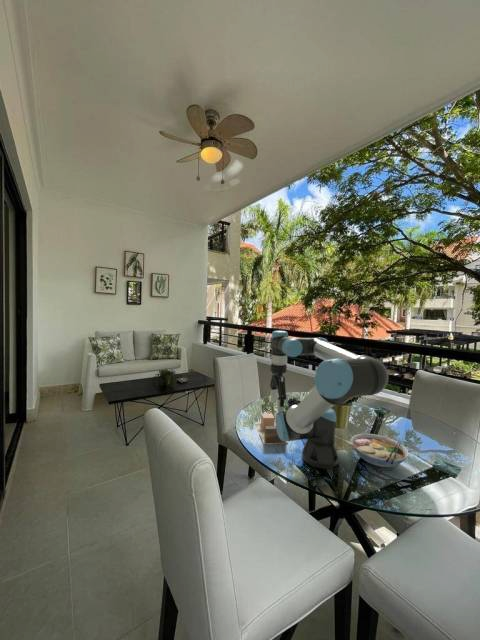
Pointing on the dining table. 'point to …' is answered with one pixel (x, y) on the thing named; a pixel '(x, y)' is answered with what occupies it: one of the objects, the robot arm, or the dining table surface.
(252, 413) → the dining table surface
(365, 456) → the ramen bowl
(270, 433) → the wooden brown box
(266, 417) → the block
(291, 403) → the fruit
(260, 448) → the dining table surface
